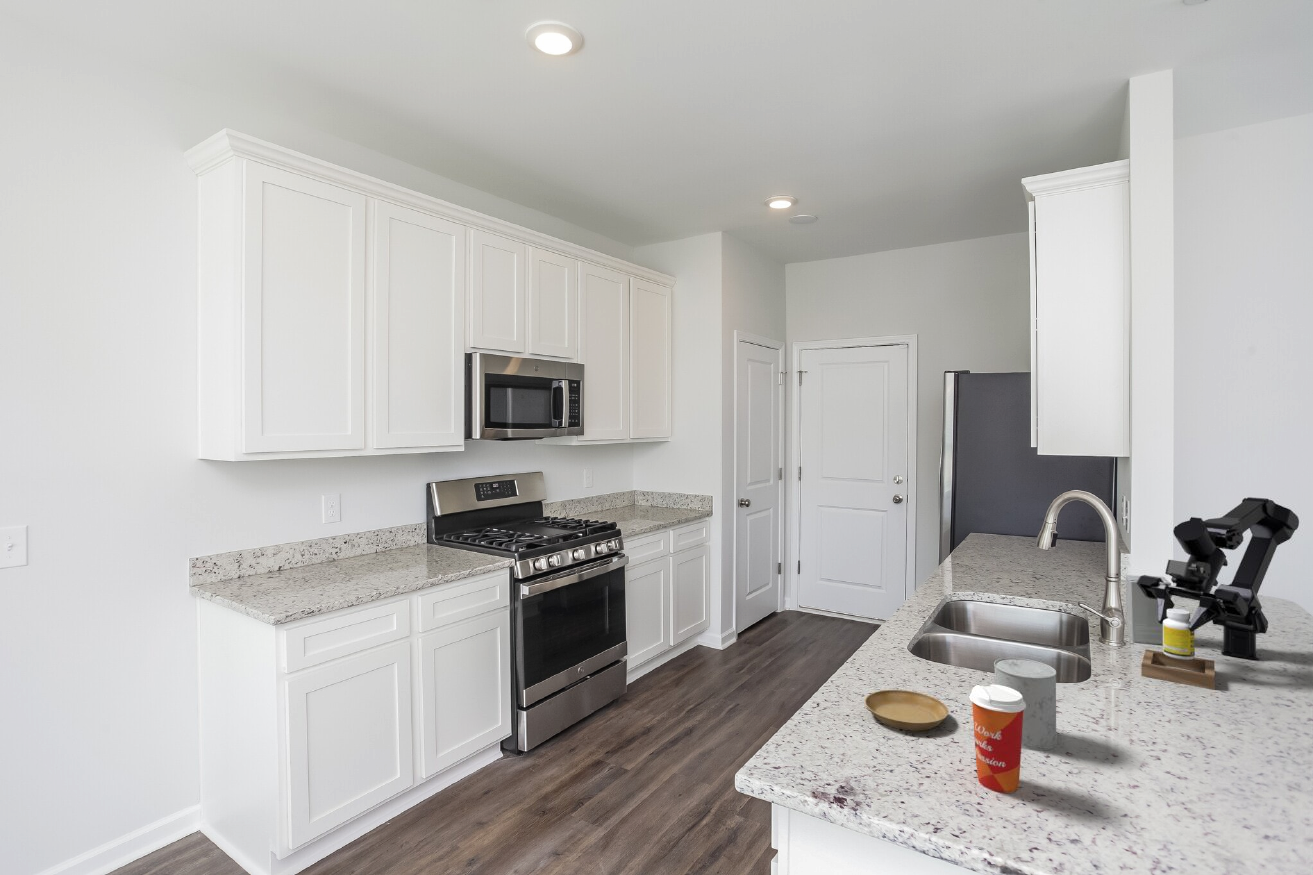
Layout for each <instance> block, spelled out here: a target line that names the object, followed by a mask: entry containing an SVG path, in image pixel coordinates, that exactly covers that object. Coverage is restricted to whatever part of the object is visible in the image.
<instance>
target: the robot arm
mask: <svg viewBox="0 0 1313 875" xmlns="http://www.w3.org/2000/svg"><path fill="white" fill-rule="evenodd" d="M1299 525H1300V518H1299V517H1298V515H1297V514H1296V513H1294V512H1293V511H1292V509H1291V508H1288V507H1285V506H1282V505H1280V504H1278V503H1276V502H1274V500H1273V499H1269V498H1264V497H1263V498H1262V497H1250V496H1249V497H1244V498H1243V499H1242V501H1241V503H1240V504H1239V505H1238V504H1237V506H1235V507H1234V508H1232V509H1231V510H1230V511H1229V512H1226V514H1224V515H1223V516H1221V517H1217V518H1216V517H1215V518H1209V519H1205V520H1204V519H1203V518H1202V517H1194V516H1191V517H1190V518H1189V520H1185V521H1183V522H1180V523H1178V524H1177V525H1176V526H1174V528H1173V530H1172V532H1173V536H1174V537H1175V539H1176V541H1177V542H1178V543H1179V545H1180V546H1181V548H1182V549H1183V551H1184V552H1185V553H1186V554H1187V555H1189V558H1188V560H1187V561H1180V560H1175V559H1174V560H1173V559H1167V564H1166V568H1165V572H1164V574H1165V575H1168V576H1170V577H1171V579H1170V580H1171V582H1172V583H1173V584H1175V586H1174V585H1171V586H1169V585H1167V584H1166V583H1164V582H1163V581H1162V579H1161V578H1158V577H1153V575H1145V574H1144V575H1139V576H1140V577H1139V579H1138V581H1137V585H1138V586H1139V587H1140V589H1141V590H1142V592H1143V593H1144V595H1145V596H1146V597H1148V598H1151V599H1155V600H1157V601H1158V622H1159V623H1160V624H1163V621H1164V620H1165V619H1167V609H1174V608H1175V603H1174V601H1173V600H1172V597H1173V596H1175V597H1179V598H1183V599H1188V600H1193V601H1198V603H1199V604H1198V607H1197V609H1196V611H1195V613H1194V615H1193V616H1192V619H1190V620H1191V621H1190V625H1189V630H1190V631H1194V630H1195V631H1196V630H1197V629H1199V628H1200V627H1203V626H1204V625H1206V624H1207V623H1209V622H1211V621H1212V625H1216V626H1217V625H1218V626H1222V627H1223V629H1222V630H1223V632H1222V633H1223V635H1222V636H1223V637H1222V639H1223V644H1221V645H1220V654H1221V655H1224V656H1230V657H1237V658H1244V659H1249V660H1255V661H1259V660H1260V656H1259V651H1258V650H1257V635H1259V634H1264V635H1265V634H1267V631H1268V628H1269V620H1268V619H1267V618H1266V616H1265V614H1264V613H1263V610H1262V609H1263V608H1262V607H1263V606H1262V604H1261V602H1260V599H1259V597H1258V593H1259V591H1260V589H1261V586H1262V584H1263V582H1264V579H1265V576H1266V573H1267V571H1268V569H1269V567H1270V564H1271V562H1272V560H1273V557H1274V555H1275V552H1276V550H1277V548H1278V546H1279V545H1282V544H1283V543H1285V542H1288V541H1290V540H1291V539H1292V537H1293V535H1294V533H1295V531H1297V530H1298V528H1299ZM1248 530H1250V533H1251V537H1250V540H1249V542H1248V545H1247V546H1246V548H1245V550H1244V553H1243V555H1242V559H1241V561H1240V563H1239V565H1238V568H1237V569H1236V572H1235V574H1234V577H1233V579H1232V582H1230V584H1222V583H1220V584H1219V582H1218V580H1217V578H1218V576H1219V574H1220V572H1221V569H1222V567H1227V566H1228V564H1229V563H1228V560H1227V556H1226V554H1225V553H1224V551H1223V550H1222V549H1224V550H1228V551H1229V550H1230V551H1235V550H1236V549H1239V546H1241V544H1242V543H1243V542H1244V533H1245V532H1246V531H1248ZM1218 584H1219V585H1218ZM1213 587H1217V588H1215V590H1214V592H1213V593H1211V591H1212V589H1213Z"/></svg>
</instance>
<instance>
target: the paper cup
mask: <svg viewBox="0 0 1313 875" xmlns="http://www.w3.org/2000/svg"><path fill="white" fill-rule="evenodd" d="M969 699H970V701H971V705H972V706H971V707H972V708H971V709H972V718H973V720H972V721H973V734H974V736H973V738H974V748H975V761H976V765H975V766H976V774H977V780H978V783H979V784H980V785H981V786H983V787H985V788H986V789H988V790H991V791H994V792H996V793H997V792H998V793H1004V794H1009V793H1014V792H1016V791H1018V789H1019V785H1020V773H1021V772H1020V771H1021V759H1022V758H1021V757H1022V748H1021V744H1022V727H1023V710H1024V709H1025V708H1026V704H1025V702H1024V701H1023V697H1022V695H1021V694H1020V693H1019V692H1018V691H1016V690H1014V689H1011V688H1009V687H1005V686H1001V685H995V683H994V684H993V683H992V684H991V685H990V684H981V685H979V684H977V685H975V686H973V688H972V690H971V692H970V693H969Z"/></svg>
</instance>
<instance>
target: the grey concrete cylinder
mask: <svg viewBox="0 0 1313 875" xmlns="http://www.w3.org/2000/svg"><path fill="white" fill-rule="evenodd" d="M993 665H994V685H1001V686H1005V687H1009V688H1011V689H1014V690H1016V691H1018V692H1019V693H1020V694H1021V695H1022V697H1023V701H1024V702H1025V704H1026V708H1025V709H1024V710H1023V727H1022V744H1021V749H1025V750H1030V751H1031V750H1032V751H1048V750H1052V749H1053V748H1055V747H1057V743H1058V742H1057V670H1056V669H1055V668H1054V667H1052V666H1051V665H1049V664H1046V663H1044V662H1040V661H1037V660H1034V659H1028V658H1021V657H1003V658H999V659H996V660H995V661H994V662H993Z"/></svg>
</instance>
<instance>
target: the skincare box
mask: <svg viewBox="0 0 1313 875" xmlns="http://www.w3.org/2000/svg"><path fill="white" fill-rule="evenodd" d="M1140 576H1141V575H1133V574H1132V575H1131V574H1129V575H1128V574H1126V575H1125V602H1126V609H1125V610H1126V635H1127V637H1129V639H1130V640H1131V642H1132V643H1139V644H1154V645H1163V624H1160V623H1159V622H1158V601H1157V600H1155V599H1151V598H1148V597H1146V596H1145V595H1144V593H1143V592H1142V590H1141V589H1140V587H1139V586H1138V585H1137V581H1138V579H1139V577H1140ZM1152 576H1153V575H1152ZM1153 577H1158V578H1161V579H1162V581H1163V582H1164V583H1166V584H1167V585H1169V586H1172V583H1171V582H1170V581H1168V579H1166V577H1164V576H1156V575H1155V576H1153ZM1167 618H1168V617H1167Z"/></svg>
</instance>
